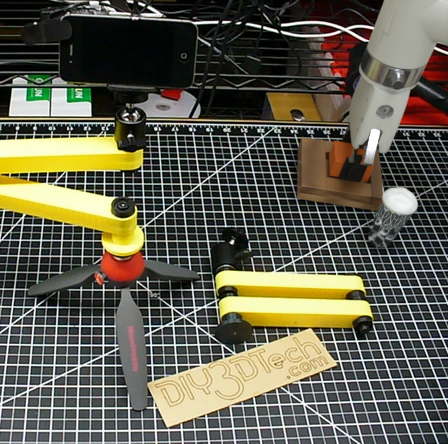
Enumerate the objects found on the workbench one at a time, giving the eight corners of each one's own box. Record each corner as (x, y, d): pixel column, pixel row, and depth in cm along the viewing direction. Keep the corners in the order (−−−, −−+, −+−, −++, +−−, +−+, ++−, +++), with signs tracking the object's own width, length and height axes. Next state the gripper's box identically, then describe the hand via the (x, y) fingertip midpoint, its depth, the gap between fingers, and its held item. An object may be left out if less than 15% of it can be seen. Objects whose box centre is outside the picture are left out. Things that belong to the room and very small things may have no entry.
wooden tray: (372, 161, 93) (378, 148, 91) (377, 211, 86) (384, 198, 84) (297, 149, 94) (301, 136, 92) (296, 198, 87) (301, 185, 85)
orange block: (365, 160, 89) (371, 146, 87) (367, 181, 86) (374, 167, 84) (328, 155, 90) (334, 140, 87) (329, 175, 87) (335, 161, 84)
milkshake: (362, 219, 85) (387, 171, 77) (398, 235, 83) (427, 187, 76) (352, 240, 82) (377, 191, 75) (389, 256, 81) (418, 209, 73)
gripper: (431, 110, 68) (378, 212, 82) (414, 33, 79) (369, 134, 93) (367, 100, 69) (324, 203, 83) (358, 25, 80) (322, 127, 93)
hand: (348, 166), depth 88 cm, fingers closed on orange block, 4 cm apart
